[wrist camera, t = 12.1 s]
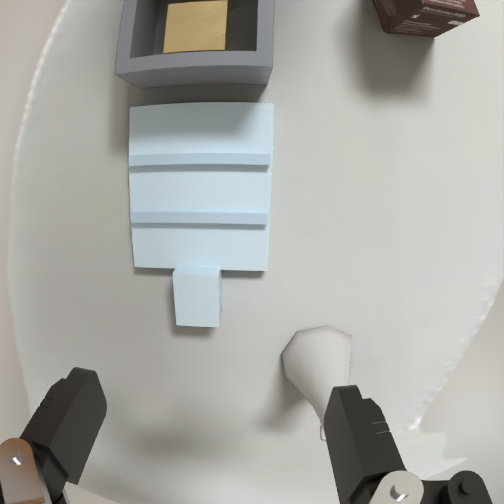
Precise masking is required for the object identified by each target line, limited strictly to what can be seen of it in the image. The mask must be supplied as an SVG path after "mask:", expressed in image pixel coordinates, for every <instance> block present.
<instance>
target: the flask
mask: <svg viewBox="0 0 504 504" xmlns="http://www.w3.org/2000/svg"><path fill="white" fill-rule="evenodd" d="M282 357H283V363H284V370H285V375H286V377H287V378H288V379H289V380H290V381H291V382H292V383H293V384H294V385H295V386H296V388H297V389H298V390H299V391H300V392H301V393H302V394H303V395H304V397H305V398H306V399H307V400H308V401H309V403H310V404H311V405H312V406H313V408H314V410H315V412H316V413H317V415H318V417H319V419H320V422H321V426H320V438H321V440H324V441H326V437H325V433H324V415H325V411H326V408H327V405H328V402H329V398H330V395H331V392H332V389H333V387H334V386H348V385H349V377H350V367H351V335H349V334H346V333H344V332H341V331H339V330H337V329H334V328H332V327H330V326H324V327H318V328H313V329H308V330H302V331H297V333H296V334H295V336H294V337H293V339H292V340H291V342H290V343H289V344H288V346H287V347H286V349H285V350H284V352H283V353H282Z"/></svg>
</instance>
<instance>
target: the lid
mask: <svg viewBox="0 0 504 504" xmlns="http://www.w3.org/2000/svg"><path fill="white" fill-rule="evenodd" d="M273 127H274V103H253V102H198V103H175V104H159V105H147V106H137V107H130V121H129V156H128V162H129V191H130V222H131V230H132V244H133V256H134V266H135V267H148V268H176V269H175V270H174V272H173V289H174V302H175V313H176V324H177V325H181V326H200V327H219V326H220V320H221V313H222V270H248V271H268V253H269V231H270V208H271V184H272V157H273Z"/></svg>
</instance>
